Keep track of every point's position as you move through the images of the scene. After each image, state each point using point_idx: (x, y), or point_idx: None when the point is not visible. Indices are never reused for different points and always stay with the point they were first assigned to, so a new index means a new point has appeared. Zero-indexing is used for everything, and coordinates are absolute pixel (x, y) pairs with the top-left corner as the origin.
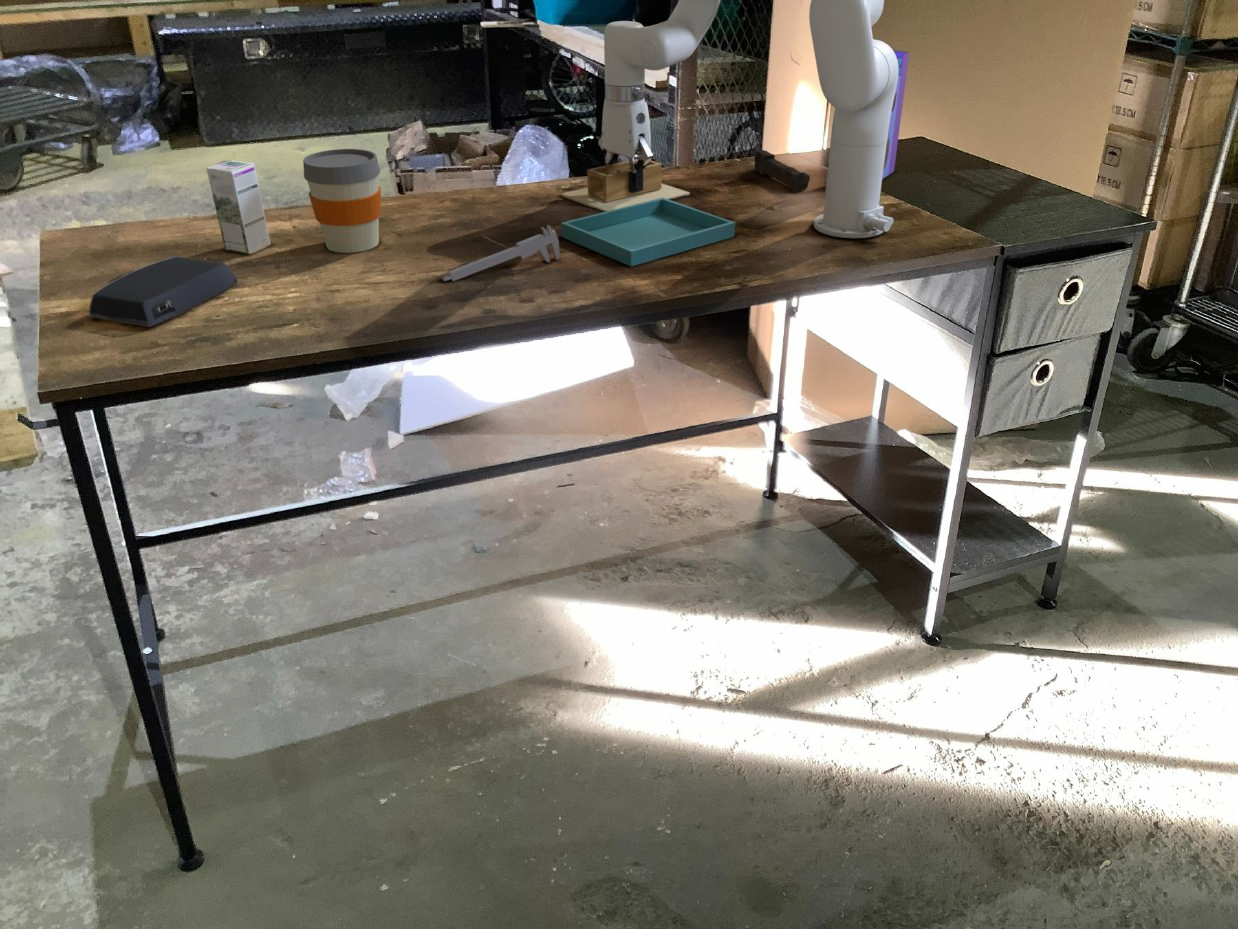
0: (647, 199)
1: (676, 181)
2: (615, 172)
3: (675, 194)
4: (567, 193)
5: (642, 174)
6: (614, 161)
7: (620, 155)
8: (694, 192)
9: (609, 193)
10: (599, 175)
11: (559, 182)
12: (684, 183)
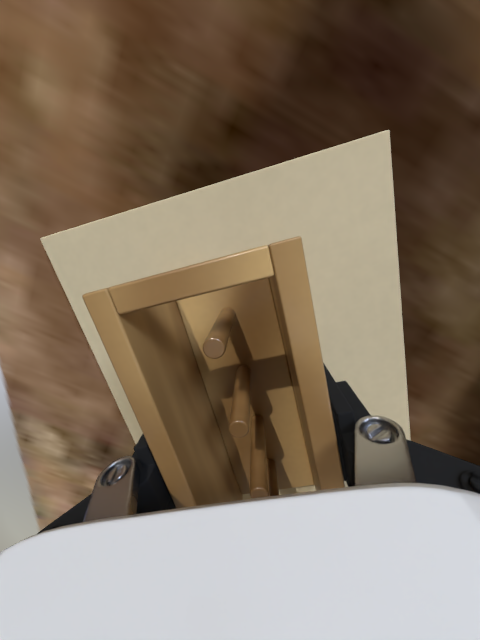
0: (367, 353)
1: (146, 84)
2: (202, 459)
3: (376, 217)
4: None
5: (344, 399)
6: (157, 498)
7: (132, 498)
8: (360, 85)
9: None
10: None
11: (46, 478)
12: (194, 56)
